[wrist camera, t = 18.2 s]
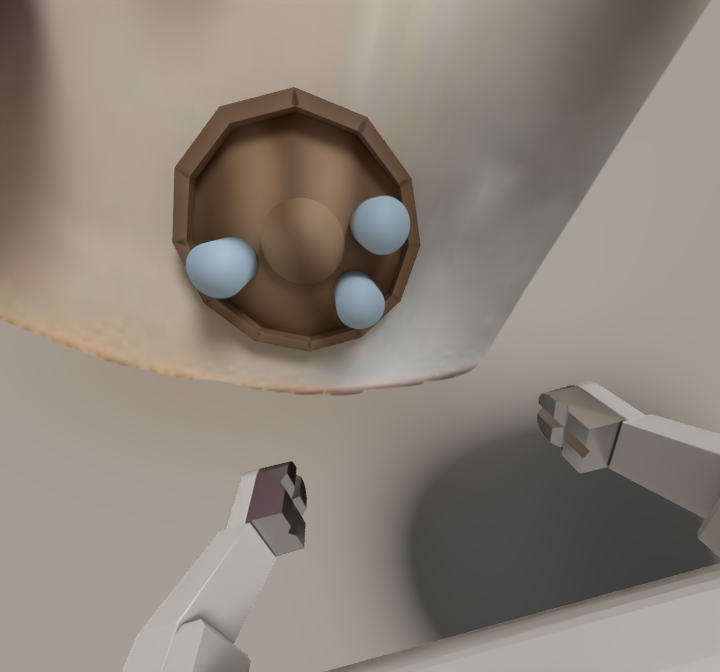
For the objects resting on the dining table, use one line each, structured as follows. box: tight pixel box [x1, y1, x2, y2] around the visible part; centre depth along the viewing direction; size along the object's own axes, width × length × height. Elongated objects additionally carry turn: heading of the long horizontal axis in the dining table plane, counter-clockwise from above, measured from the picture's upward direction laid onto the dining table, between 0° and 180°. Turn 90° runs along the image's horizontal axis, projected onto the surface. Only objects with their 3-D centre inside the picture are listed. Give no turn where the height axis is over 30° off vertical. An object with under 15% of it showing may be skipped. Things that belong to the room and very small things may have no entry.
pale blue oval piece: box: [350, 196, 410, 255], centre depth 22 cm, size 4×4×5 cm
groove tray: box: [173, 87, 420, 351], centre depth 24 cm, size 20×20×2 cm
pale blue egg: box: [334, 270, 385, 329], centre depth 24 cm, size 4×4×5 cm
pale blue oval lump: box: [186, 237, 259, 298], centre depth 22 cm, size 4×4×5 cm
